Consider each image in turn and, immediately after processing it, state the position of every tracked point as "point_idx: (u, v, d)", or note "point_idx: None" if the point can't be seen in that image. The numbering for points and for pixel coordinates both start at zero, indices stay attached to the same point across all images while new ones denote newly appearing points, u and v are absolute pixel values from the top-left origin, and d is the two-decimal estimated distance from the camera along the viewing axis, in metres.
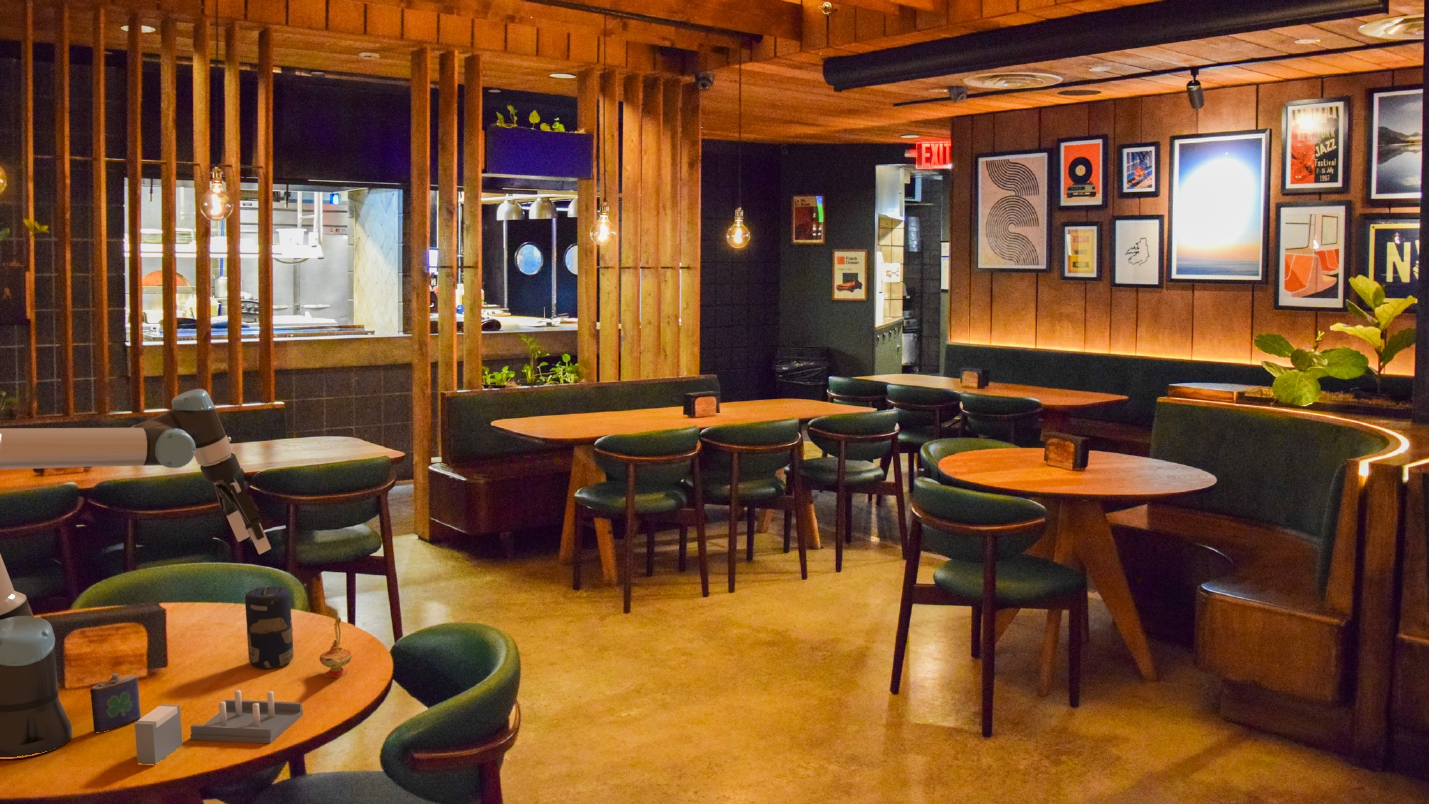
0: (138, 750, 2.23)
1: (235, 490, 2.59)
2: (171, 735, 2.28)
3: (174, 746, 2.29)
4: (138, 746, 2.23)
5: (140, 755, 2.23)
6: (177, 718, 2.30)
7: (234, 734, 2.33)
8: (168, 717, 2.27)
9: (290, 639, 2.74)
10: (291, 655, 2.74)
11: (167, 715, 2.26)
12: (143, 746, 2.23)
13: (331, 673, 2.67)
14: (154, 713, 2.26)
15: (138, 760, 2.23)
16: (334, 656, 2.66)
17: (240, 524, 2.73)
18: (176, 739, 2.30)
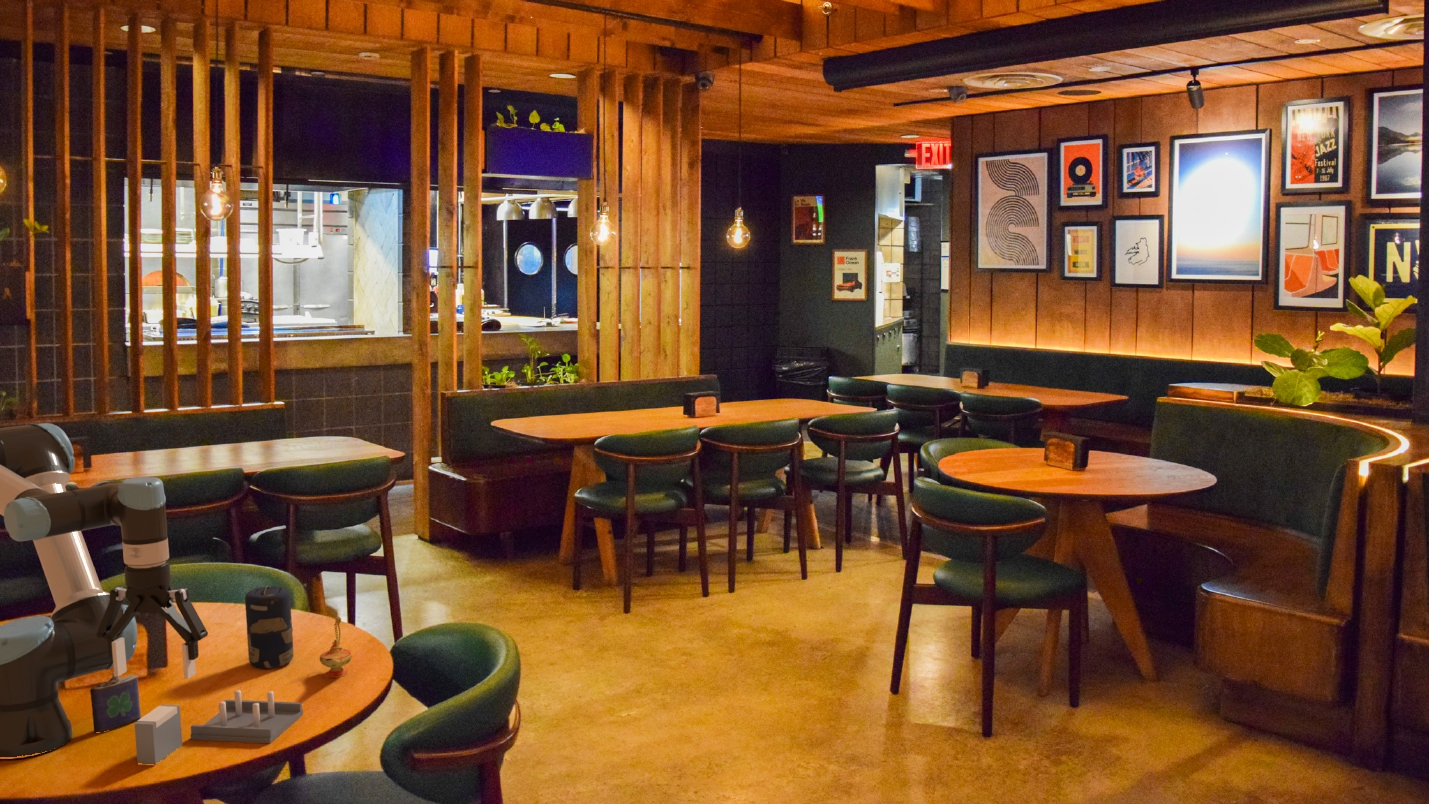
0: (138, 750, 2.23)
1: None
2: (171, 735, 2.28)
3: (174, 746, 2.29)
4: (138, 746, 2.23)
5: (140, 755, 2.23)
6: (177, 718, 2.30)
7: (234, 734, 2.33)
8: (168, 717, 2.27)
9: (290, 639, 2.74)
10: (291, 655, 2.74)
11: (167, 715, 2.26)
12: (143, 746, 2.23)
13: (331, 673, 2.67)
14: (154, 713, 2.26)
15: (138, 760, 2.23)
16: (334, 656, 2.66)
17: None
18: (176, 739, 2.30)
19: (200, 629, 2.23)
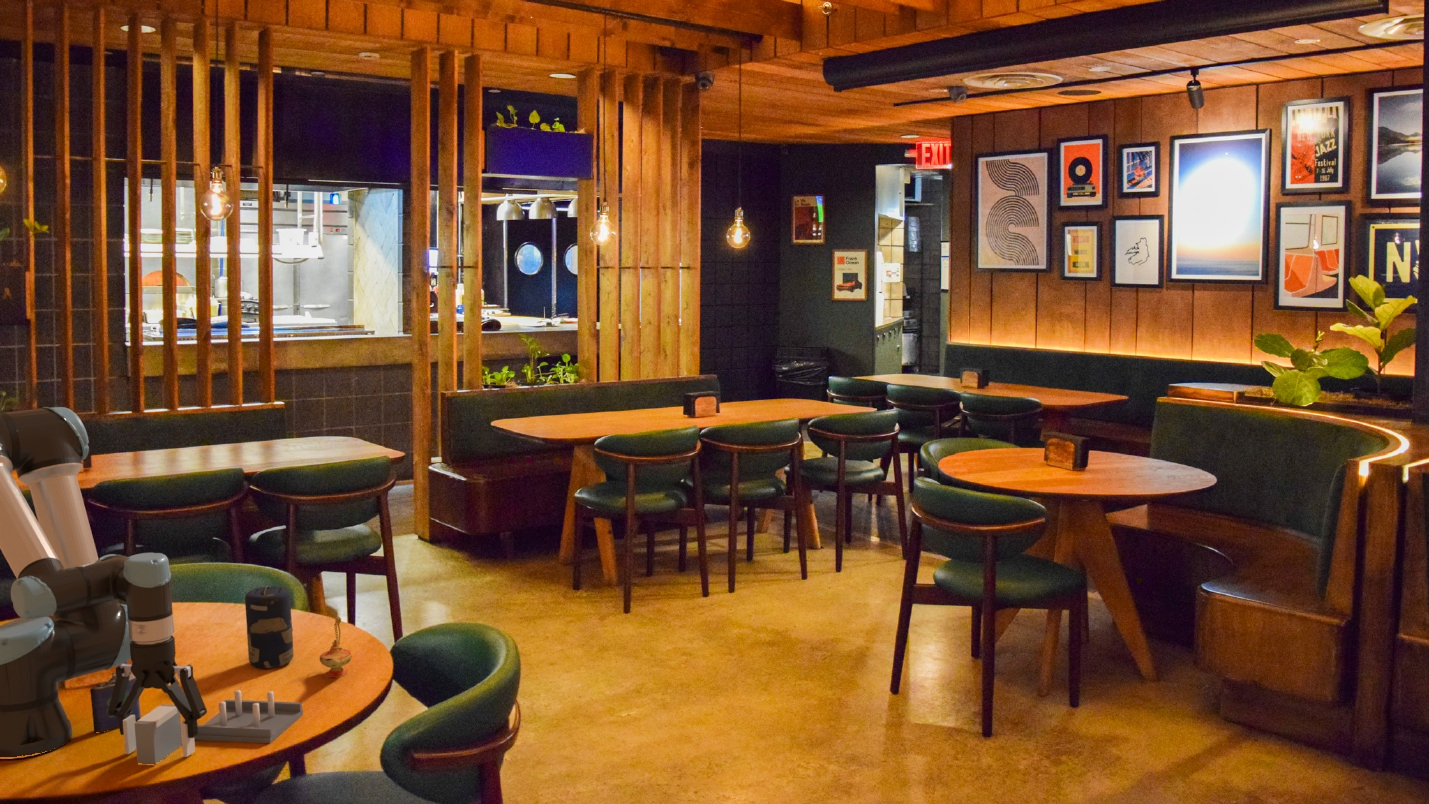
0: (138, 750, 2.23)
1: None
2: (171, 735, 2.28)
3: (174, 746, 2.29)
4: (138, 746, 2.23)
5: (140, 755, 2.23)
6: (177, 718, 2.30)
7: (234, 734, 2.33)
8: (168, 717, 2.27)
9: (290, 639, 2.74)
10: (291, 655, 2.74)
11: (167, 715, 2.26)
12: (143, 746, 2.23)
13: (331, 673, 2.67)
14: (154, 713, 2.26)
15: (138, 760, 2.23)
16: (334, 656, 2.66)
17: None
18: (176, 739, 2.30)
19: (200, 708, 2.25)
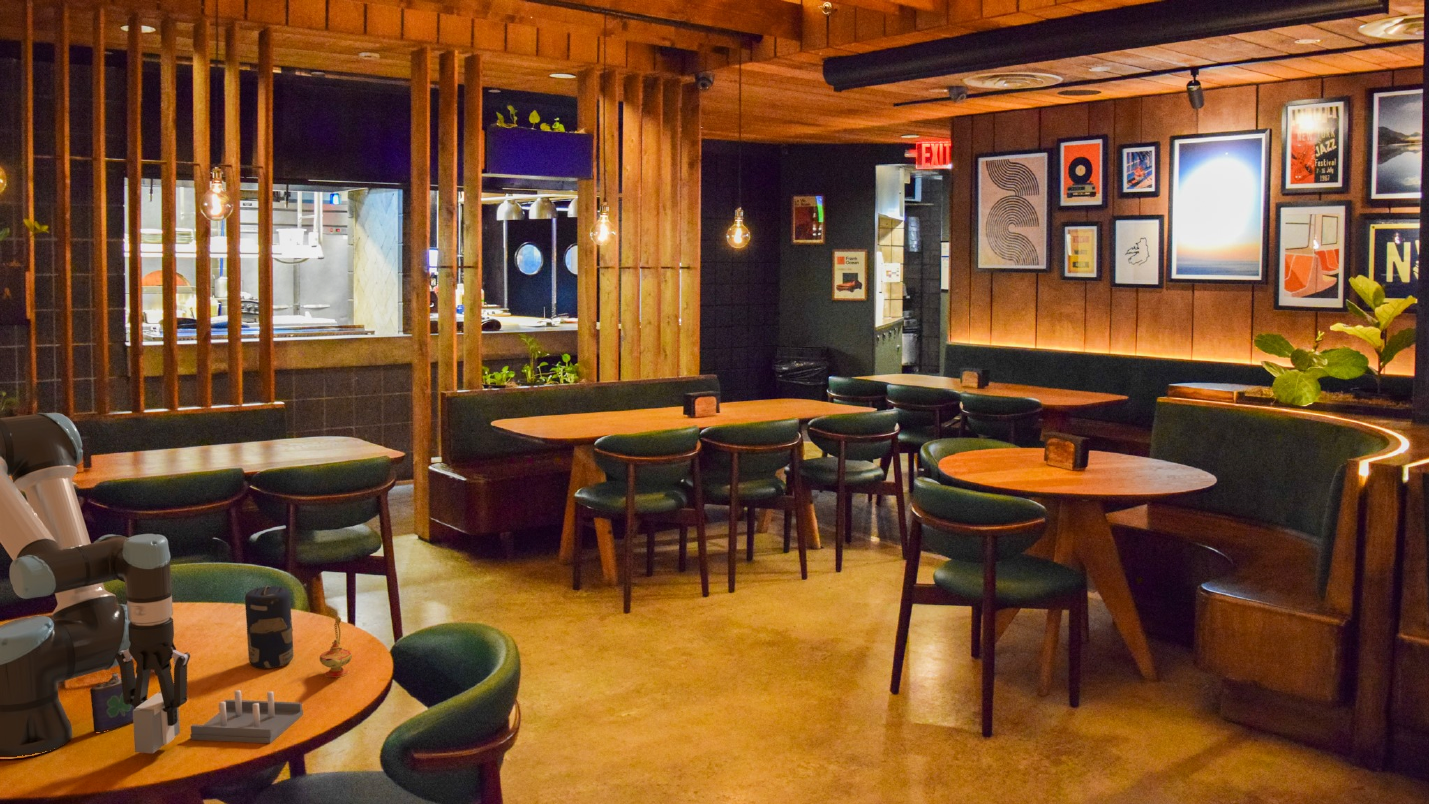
0: (136, 737, 2.23)
1: None
2: None
3: None
4: (136, 733, 2.23)
5: (138, 742, 2.23)
6: None
7: (234, 734, 2.33)
8: None
9: (290, 639, 2.74)
10: (291, 655, 2.74)
11: None
12: (140, 733, 2.23)
13: (331, 673, 2.67)
14: (152, 700, 2.26)
15: (135, 747, 2.23)
16: (334, 656, 2.66)
17: None
18: (174, 727, 2.30)
19: (182, 697, 2.25)
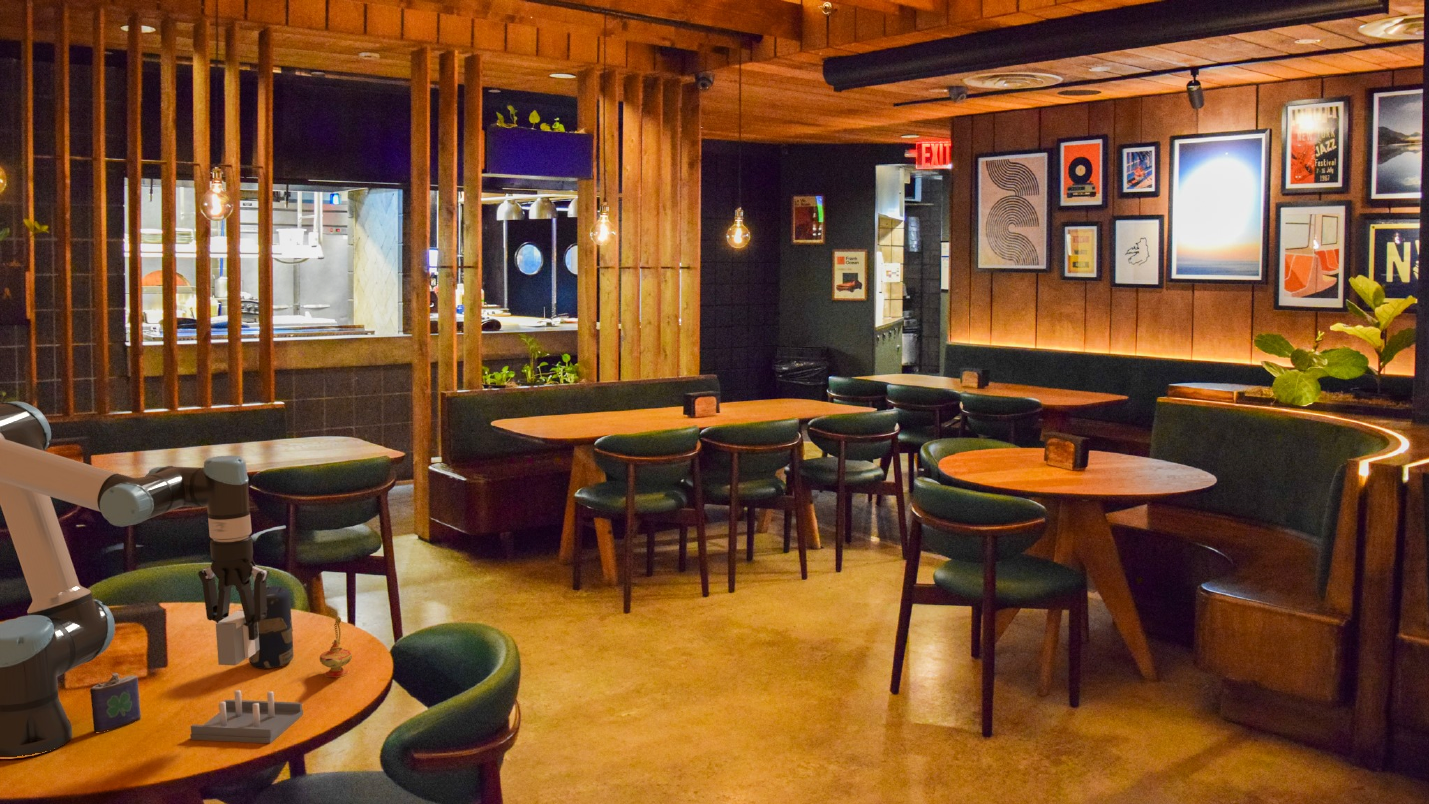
0: (219, 650, 2.32)
1: None
2: None
3: None
4: (219, 646, 2.32)
5: (221, 655, 2.32)
6: None
7: (234, 734, 2.33)
8: None
9: (290, 639, 2.74)
10: (291, 655, 2.74)
11: None
12: (223, 646, 2.32)
13: (331, 673, 2.67)
14: (233, 616, 2.36)
15: (219, 660, 2.32)
16: (334, 656, 2.66)
17: None
18: None
19: (262, 611, 2.35)
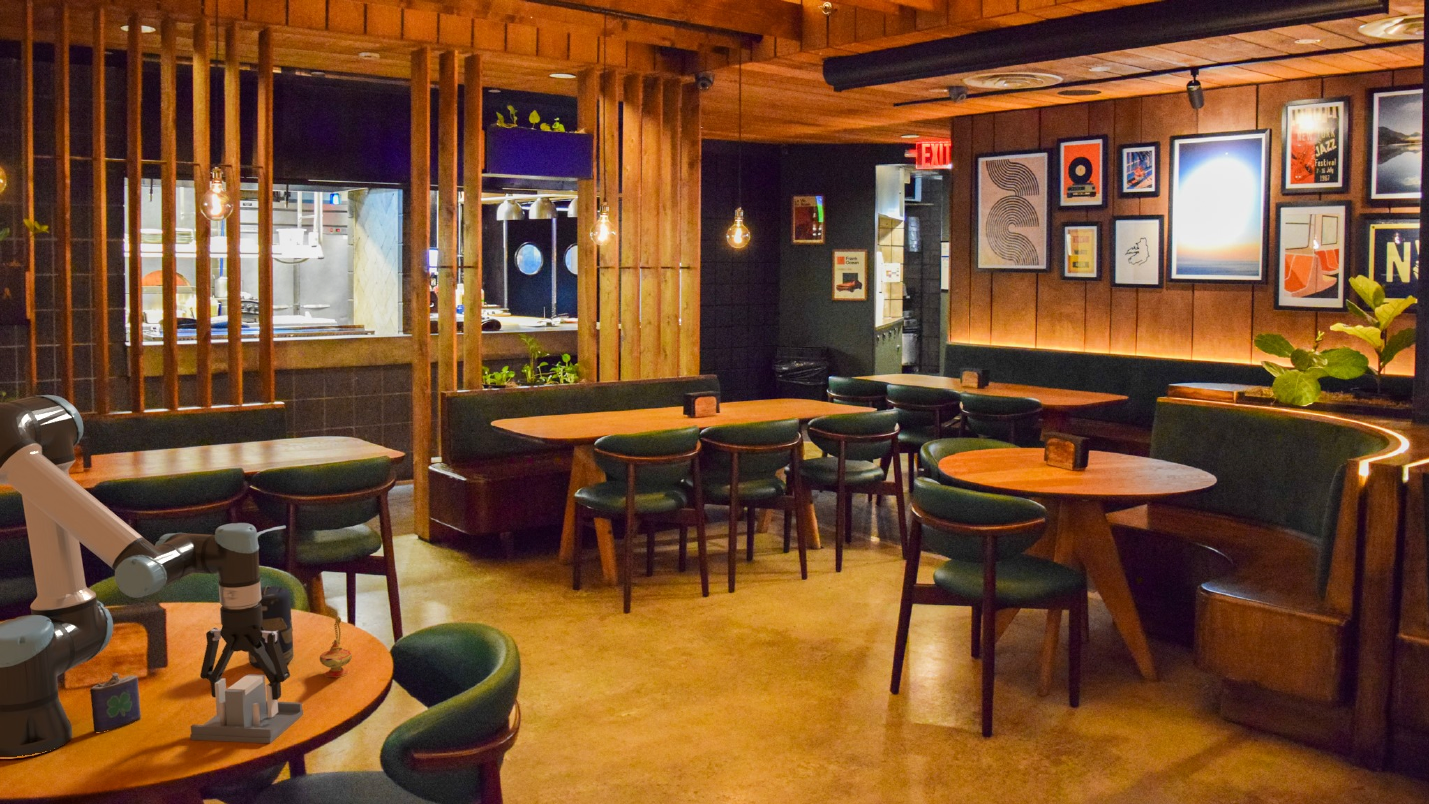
0: (228, 717, 2.35)
1: None
2: None
3: (260, 714, 2.41)
4: (228, 712, 2.35)
5: (230, 721, 2.35)
6: (263, 687, 2.42)
7: (234, 734, 2.33)
8: (255, 686, 2.39)
9: (290, 639, 2.74)
10: (291, 655, 2.74)
11: (254, 684, 2.39)
12: (232, 713, 2.35)
13: (331, 673, 2.67)
14: (242, 682, 2.39)
15: None
16: (334, 656, 2.66)
17: None
18: (262, 707, 2.42)
19: (284, 671, 2.37)
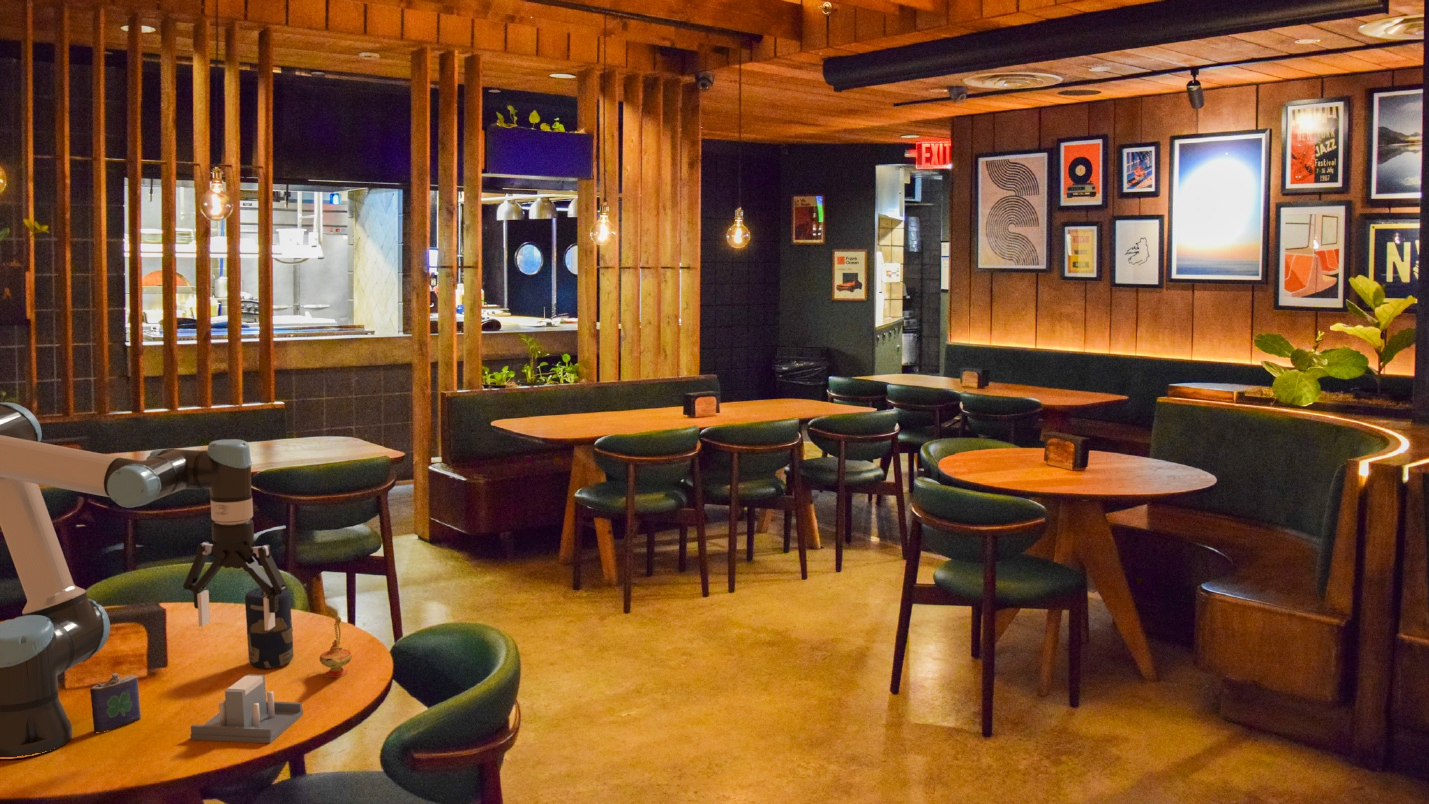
0: (228, 717, 2.35)
1: None
2: None
3: (260, 714, 2.41)
4: (228, 712, 2.35)
5: (230, 721, 2.35)
6: (263, 687, 2.42)
7: (234, 734, 2.33)
8: (255, 686, 2.39)
9: (290, 639, 2.74)
10: (291, 655, 2.74)
11: (254, 684, 2.39)
12: (232, 713, 2.35)
13: (331, 673, 2.67)
14: (242, 682, 2.39)
15: None
16: (334, 656, 2.66)
17: None
18: (262, 707, 2.42)
19: (281, 584, 2.36)
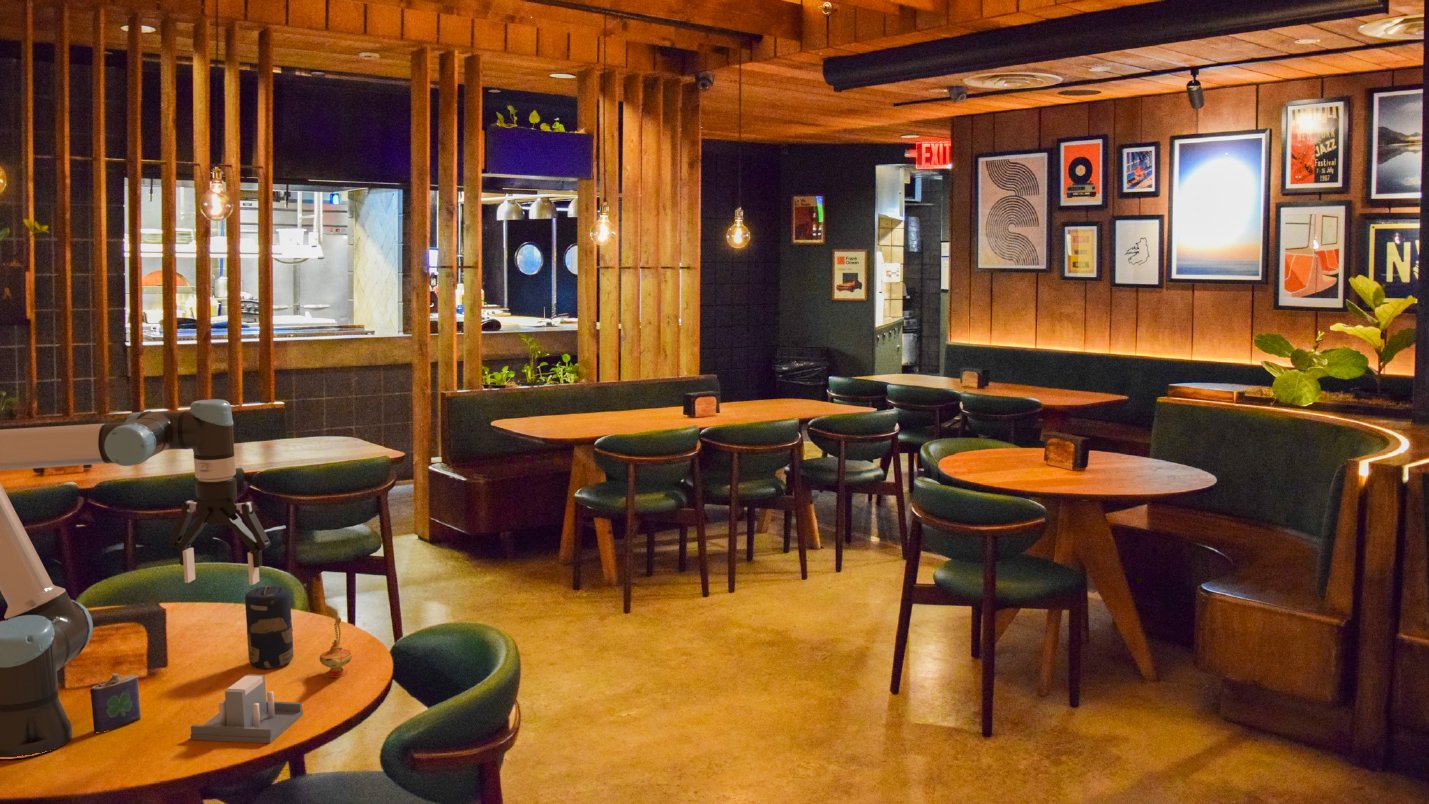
0: (228, 717, 2.35)
1: None
2: None
3: (260, 714, 2.41)
4: (228, 712, 2.35)
5: (230, 721, 2.35)
6: (263, 687, 2.42)
7: (234, 734, 2.33)
8: (255, 686, 2.39)
9: (290, 639, 2.74)
10: (291, 655, 2.74)
11: (254, 684, 2.39)
12: (232, 713, 2.35)
13: (331, 673, 2.67)
14: (242, 682, 2.39)
15: None
16: (334, 656, 2.66)
17: None
18: (262, 707, 2.42)
19: (264, 539, 2.43)
